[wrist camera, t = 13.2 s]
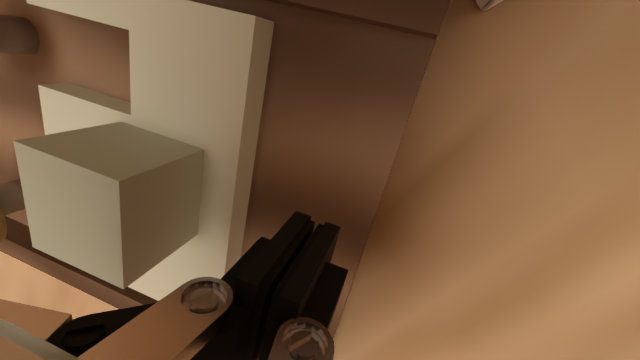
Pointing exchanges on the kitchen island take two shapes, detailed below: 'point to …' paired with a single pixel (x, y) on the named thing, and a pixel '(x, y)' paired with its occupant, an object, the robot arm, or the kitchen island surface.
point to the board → (276, 117)
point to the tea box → (487, 4)
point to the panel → (186, 103)
